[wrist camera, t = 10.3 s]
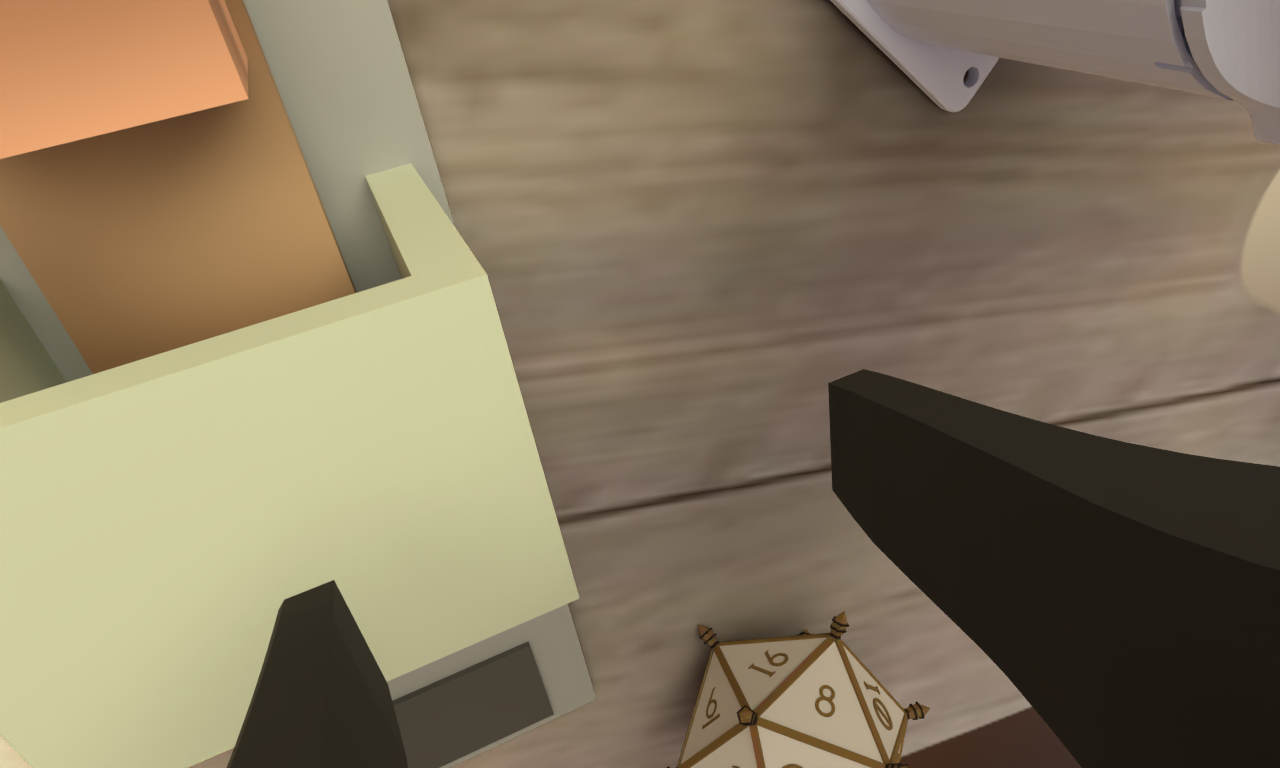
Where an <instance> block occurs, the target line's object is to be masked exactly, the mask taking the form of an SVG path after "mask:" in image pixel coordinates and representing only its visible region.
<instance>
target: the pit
mask: <svg viewBox="0 0 1280 768" xmlns="http://www.w3.org/2000/svg"><path fill="white" fill-rule="evenodd" d="M392 702H393V706H394V709H395V713H396V717H397V721H398V725H399V729H400V733H401V737H402V741H403V745H404V749H405V753H406V757H407V765H408V768H440V767H442V766H444V765H447V764H449V763H451V762H453V761H455V760H457V759H460V758H462V757H464V756H466V755H468V754H470V753H472V752H475V751H477V750H479V749H481V748H483V747H485V746H487V745H490V744H492V743H494V742H496V741H498V740H500V739H502V738H505V737H507V736H509V735H511V734H513V733H515V732H517V731H520V730H522V729H524V728H526V727H528V726H530V725H533V724H535V723H537V722H539V721H541V720H543V719H545V718H548V717H550V716H552V715H554V712H553V710H552V707H551V704H550V701H549V698H548V695H547V693H546V690H545V687H544V684H543V681H542V678H541V675H540V673H539V670H538V667H537V664H536V661H535V658H534V655H533V653H532V650H531V647H530V644H529V642H525V643H523V644H521V645H518V646H516V647H514V648H512V649H509V650H507V651H505V652H503V653H500V654H498V655H496V656H493V657H491V658H489V659H487V660H484V661H482V662H480V663H477V664H475V665H473V666H471V667H468V668H466V669H464V670H461V671H459V672H457V673H455V674H452V675H450V676H448V677H445V678H443V679H441V680H439V681H436V682H434V683H432V684H430V685H427V686H425V687H423V688H420V689H418V690H416V691H414V692H411V693H409V694H407V695H404V696H402V697H400V698H398V699H395V700H393V701H392Z"/></svg>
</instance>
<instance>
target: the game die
mask: <svg viewBox="0 0 1280 768" xmlns="http://www.w3.org/2000/svg"><path fill="white" fill-rule="evenodd" d="M832 621H833V623H832V624H831V626H830V628H831V633H825V634H812V635H811V634H810V633H809V632H808V631H807V630H805V631H804V632H802V633H801V634H799V635H798V636H788V637H776V638H764V639H752V640H740V641H728V642H719V641H717V638H716V636H715V635H716V633H715V634H714V633H713V631H712V630H711V629H712V628H707V627H704V626H701V625H698V627H699V632H700V639H702V640H703V641H704V644H707V645H709V646H710V647H711V652H710V656H709V659H708V663H707V666H706V670H705V673H704V676H703V680H702V683H701V687H700V690H699V693H698V697H697V700H696V704H695V707H694V710H693V714H692V717H691V721H690V724H689V728H688V731H687V734H686V738H685V741H684V745H683V748H682V751H681V755H680V758H679V762H678V765H677V767H676V768H908V765H907V764H901V763H900V757H901V752H902V747H903V742H904V737H905V732H906V727H907V722H908V719H910V718H911V719H913V720H917V719H918V718H919V719H921V718H924V716H925V714H926V713H927V712H928V711H929V709H930V708H928V707H926V706H923V705H920V704H919V703H918V702H916V704H914V705H912V704H910V705H909V707H908V708H906V709H903V708H902V707H901V705H900V704H899V703H898V702H897V701H896V700H895V699H894V698H893V697H892V696H891V694H890V693H889V692H888V691H887V690H886V689H885V688H884V687H883V686H882V684H881V683H880V682H879V681H878V680H877V679H876V678H875V677H874V676H873V674H872V673H871V672H870V671H869V670H868V669H867V668H866V667H865V666H864V664H863V663H862V662H861V661H860V660H859V659H858V658H857V657H856V656H855V654H854V653H853V652H852V651H851V650H850V649H849V648H848V647H847V646H846V644H845V643H844V642H843V641H842V640H841V639H840V638H841V635H842V634H843V633H846V630H845V629H846V627H849V624H848V623H847V620H846V616H845V611H843V612H842V613H841V614H839V615H838V616H837V617H835V616H834V618H833V619H832ZM667 768H669V767H667Z"/></svg>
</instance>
